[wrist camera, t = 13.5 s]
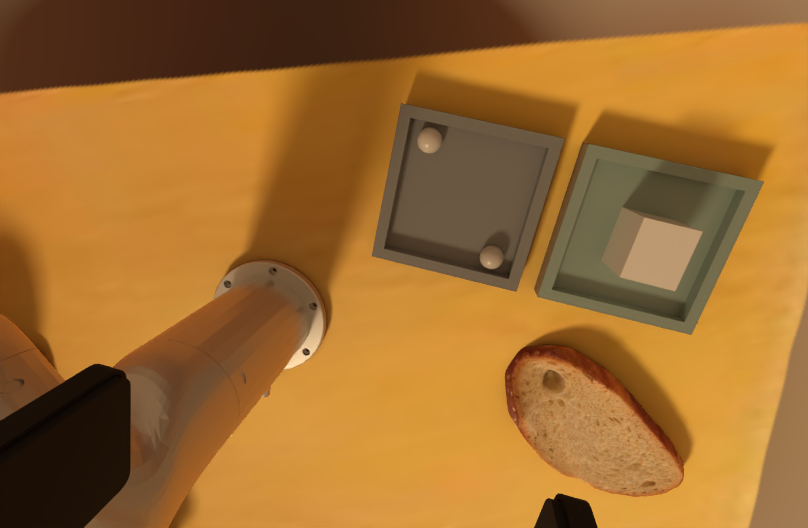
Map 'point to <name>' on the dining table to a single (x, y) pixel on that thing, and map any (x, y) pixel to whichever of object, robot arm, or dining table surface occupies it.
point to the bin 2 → (650, 193)
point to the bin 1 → (464, 195)
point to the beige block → (650, 248)
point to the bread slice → (588, 423)
